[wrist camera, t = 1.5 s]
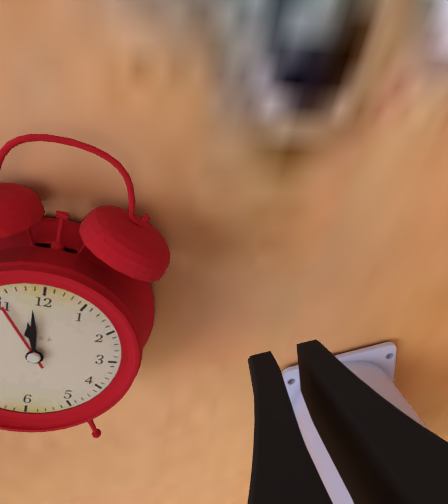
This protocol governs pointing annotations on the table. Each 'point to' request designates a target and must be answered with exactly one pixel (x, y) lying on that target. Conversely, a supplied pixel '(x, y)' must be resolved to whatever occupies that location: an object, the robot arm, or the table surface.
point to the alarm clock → (71, 304)
